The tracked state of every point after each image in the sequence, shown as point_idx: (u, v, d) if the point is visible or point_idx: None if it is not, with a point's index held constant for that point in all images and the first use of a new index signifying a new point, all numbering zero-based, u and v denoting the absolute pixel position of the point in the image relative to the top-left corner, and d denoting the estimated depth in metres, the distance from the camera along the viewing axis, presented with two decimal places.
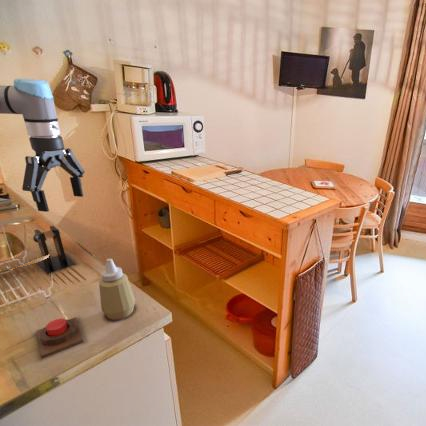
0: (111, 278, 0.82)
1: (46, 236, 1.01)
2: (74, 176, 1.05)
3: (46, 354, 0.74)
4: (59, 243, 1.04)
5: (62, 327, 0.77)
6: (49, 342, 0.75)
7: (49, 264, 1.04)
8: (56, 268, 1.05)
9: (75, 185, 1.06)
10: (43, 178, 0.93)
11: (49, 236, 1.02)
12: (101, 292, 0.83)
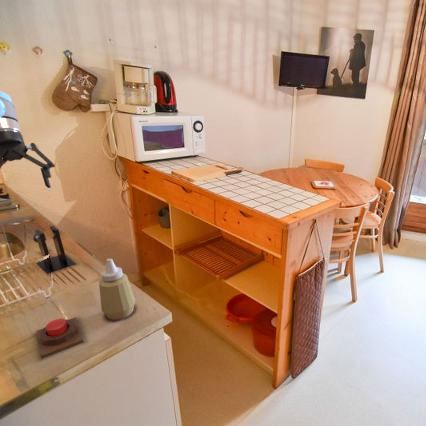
0: (111, 278, 0.82)
1: (46, 236, 1.01)
2: None
3: (46, 354, 0.74)
4: (59, 243, 1.04)
5: (62, 327, 0.77)
6: (49, 342, 0.75)
7: (49, 264, 1.04)
8: (56, 268, 1.05)
9: None
10: None
11: (49, 236, 1.02)
12: (101, 292, 0.83)
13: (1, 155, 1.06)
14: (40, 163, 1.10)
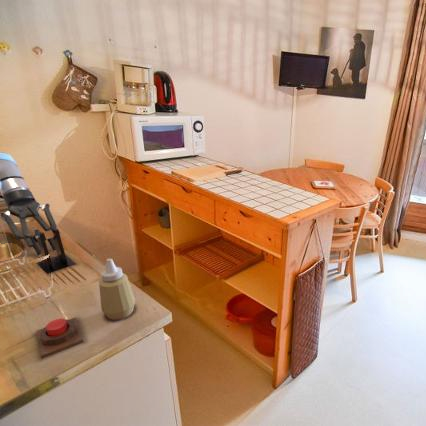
0: (111, 278, 0.82)
1: (46, 236, 1.01)
2: None
3: (46, 354, 0.74)
4: (59, 243, 1.04)
5: (62, 327, 0.77)
6: (49, 342, 0.75)
7: (49, 264, 1.04)
8: (56, 268, 1.05)
9: None
10: None
11: (49, 236, 1.02)
12: (101, 292, 0.83)
13: (22, 213, 1.08)
14: (47, 225, 1.11)
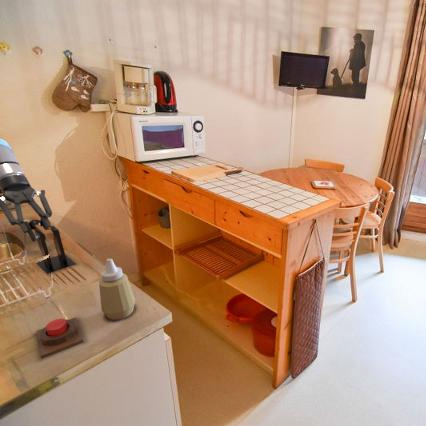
0: (111, 278, 0.82)
1: (46, 238, 1.02)
2: None
3: (46, 354, 0.74)
4: (59, 243, 1.04)
5: (62, 327, 0.77)
6: (49, 342, 0.75)
7: (49, 264, 1.04)
8: (56, 268, 1.05)
9: None
10: None
11: (49, 238, 1.02)
12: (101, 292, 0.83)
13: (17, 199, 1.07)
14: (42, 211, 1.10)
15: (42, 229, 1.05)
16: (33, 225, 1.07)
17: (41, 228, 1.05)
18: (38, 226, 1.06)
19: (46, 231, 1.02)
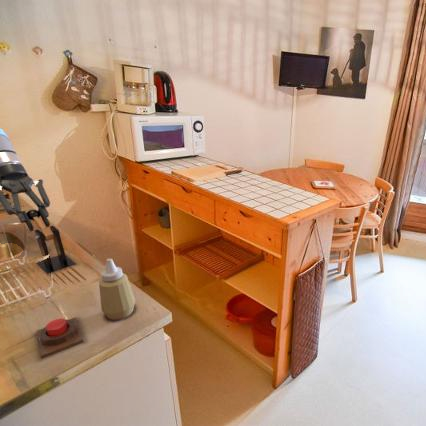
0: (111, 278, 0.82)
1: (47, 239, 1.02)
2: None
3: (46, 354, 0.74)
4: (59, 243, 1.04)
5: (62, 327, 0.77)
6: (49, 342, 0.75)
7: (49, 264, 1.04)
8: (56, 268, 1.05)
9: None
10: None
11: (49, 239, 1.03)
12: (101, 292, 0.83)
13: (14, 188, 1.05)
14: (40, 201, 1.08)
15: (41, 225, 1.04)
16: (31, 217, 1.05)
17: (40, 223, 1.04)
18: (37, 219, 1.05)
19: (47, 231, 1.02)
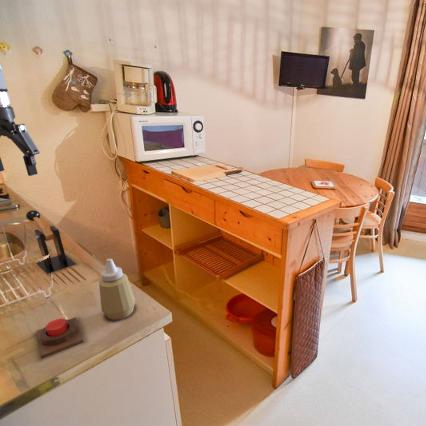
0: (111, 278, 0.82)
1: (47, 239, 1.02)
2: None
3: (46, 354, 0.74)
4: (59, 243, 1.04)
5: (62, 327, 0.77)
6: (49, 342, 0.75)
7: (49, 264, 1.04)
8: (56, 268, 1.05)
9: None
10: None
11: (49, 239, 1.03)
12: (101, 292, 0.83)
13: None
14: (23, 150, 1.03)
15: (41, 226, 1.04)
16: (31, 217, 1.05)
17: (40, 224, 1.04)
18: (37, 220, 1.05)
19: (46, 231, 1.02)
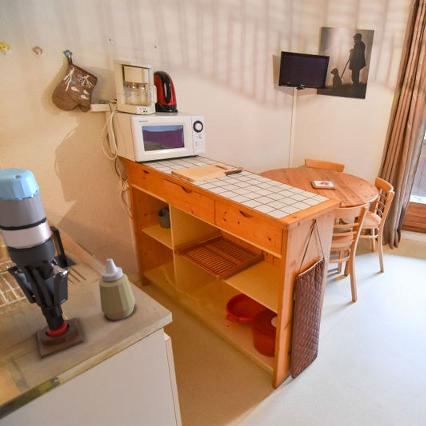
0: (111, 278, 0.82)
1: None
2: (46, 303, 0.75)
3: (46, 354, 0.74)
4: (59, 243, 1.04)
5: (62, 329, 0.77)
6: (49, 342, 0.75)
7: None
8: None
9: None
10: None
11: None
12: (101, 292, 0.83)
13: (28, 277, 0.70)
14: (49, 300, 0.73)
15: None
16: None
17: None
18: None
19: None
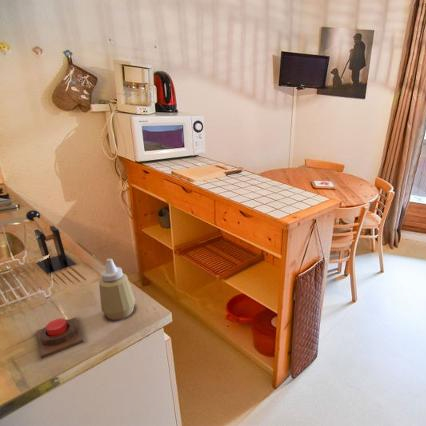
0: (111, 278, 0.82)
1: (47, 239, 1.02)
2: None
3: (46, 354, 0.74)
4: (59, 243, 1.04)
5: (62, 327, 0.77)
6: (49, 342, 0.75)
7: (49, 264, 1.04)
8: (56, 268, 1.05)
9: None
10: None
11: (49, 239, 1.03)
12: (101, 292, 0.83)
13: None
14: None
15: (41, 226, 1.04)
16: (31, 217, 1.05)
17: (40, 224, 1.04)
18: (37, 220, 1.05)
19: (46, 231, 1.02)
